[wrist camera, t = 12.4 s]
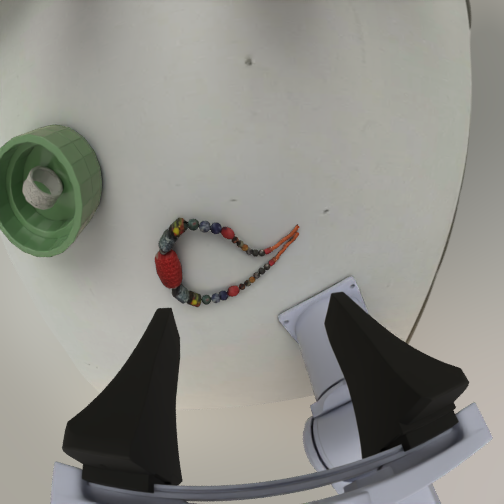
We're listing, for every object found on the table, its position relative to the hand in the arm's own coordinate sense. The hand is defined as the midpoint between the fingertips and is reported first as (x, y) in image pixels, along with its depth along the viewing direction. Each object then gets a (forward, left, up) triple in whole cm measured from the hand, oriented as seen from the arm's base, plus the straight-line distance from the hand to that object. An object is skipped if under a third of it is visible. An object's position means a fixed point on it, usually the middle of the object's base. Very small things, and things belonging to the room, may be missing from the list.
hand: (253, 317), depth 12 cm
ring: (+11, +9, -9) cm, 17 cm away
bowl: (+11, +9, -9) cm, 17 cm away
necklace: (-2, +2, -10) cm, 10 cm away
